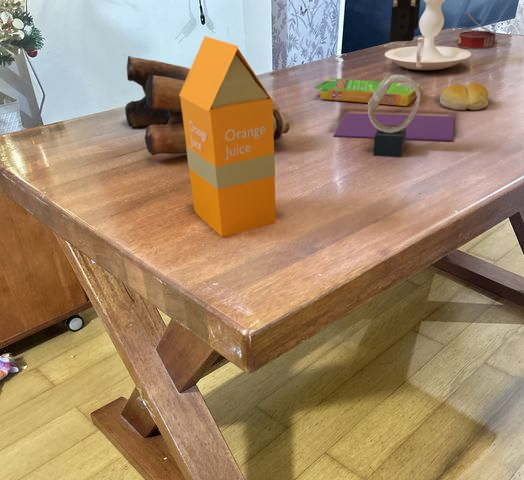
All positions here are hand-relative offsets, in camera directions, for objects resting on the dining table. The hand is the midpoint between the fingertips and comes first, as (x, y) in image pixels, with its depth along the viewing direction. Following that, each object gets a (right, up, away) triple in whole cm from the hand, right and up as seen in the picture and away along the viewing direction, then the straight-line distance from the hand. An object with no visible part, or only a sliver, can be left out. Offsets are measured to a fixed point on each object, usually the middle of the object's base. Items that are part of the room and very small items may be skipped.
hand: (404, 35), depth 77 cm
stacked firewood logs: (-30, -6, +21) cm, 38 cm away
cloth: (+4, -5, +20) cm, 21 cm away
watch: (0, -13, +10) cm, 17 cm away
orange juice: (-24, -28, -7) cm, 38 cm away
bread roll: (+19, +3, +29) cm, 35 cm away
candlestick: (+20, +24, +56) cm, 64 cm away
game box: (+2, +8, +37) cm, 38 cm away
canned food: (+41, +42, +78) cm, 98 cm away
